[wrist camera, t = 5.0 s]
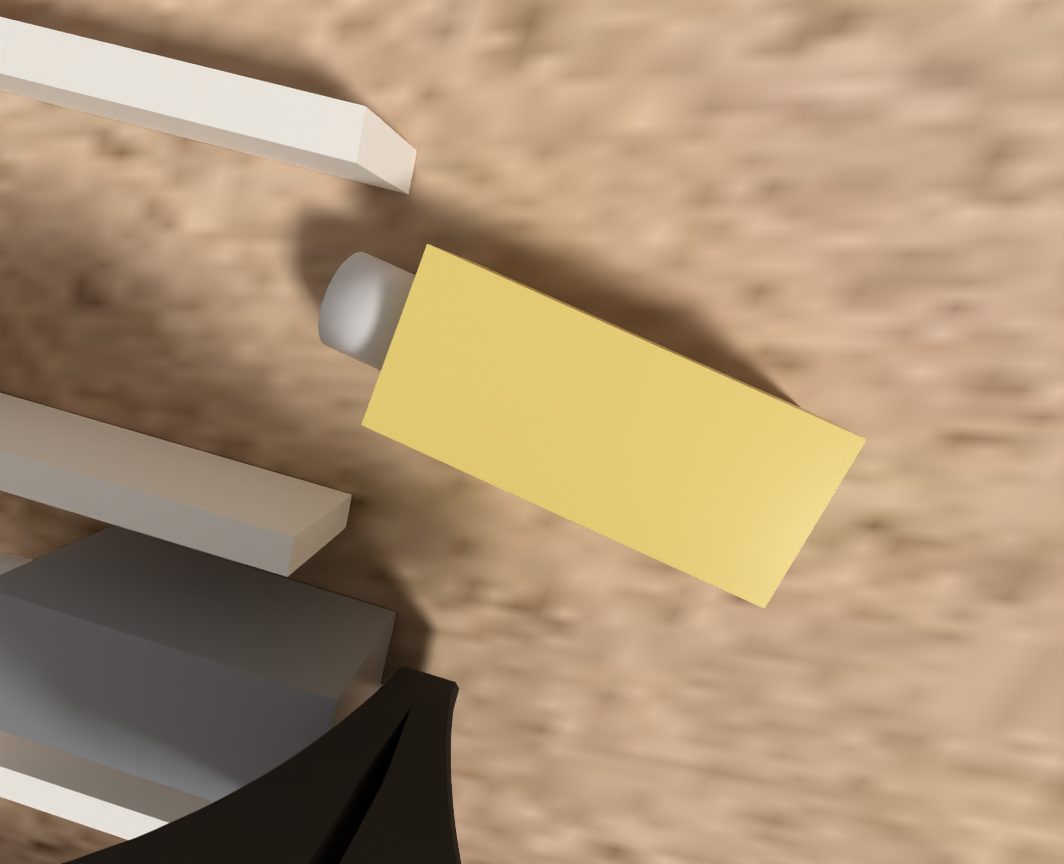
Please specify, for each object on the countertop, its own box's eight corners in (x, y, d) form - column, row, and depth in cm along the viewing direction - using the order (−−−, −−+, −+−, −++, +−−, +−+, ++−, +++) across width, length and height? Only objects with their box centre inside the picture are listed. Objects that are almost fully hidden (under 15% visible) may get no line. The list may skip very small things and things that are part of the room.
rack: (297, 784, 14) (198, 938, 11) (-96, 656, 15) (-311, 762, 11) (416, 150, 11) (328, 73, 7) (-103, 21, 11) (-414, -107, 8)
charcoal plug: (372, 721, 14) (309, 833, 11) (48, 617, 14) (-98, 697, 11) (396, 612, 13) (336, 700, 10) (54, 507, 13) (-99, 562, 10)
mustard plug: (724, 535, 12) (764, 608, 9) (355, 368, 12) (276, 387, 9) (797, 405, 11) (866, 439, 8) (403, 230, 11) (335, 202, 8)
